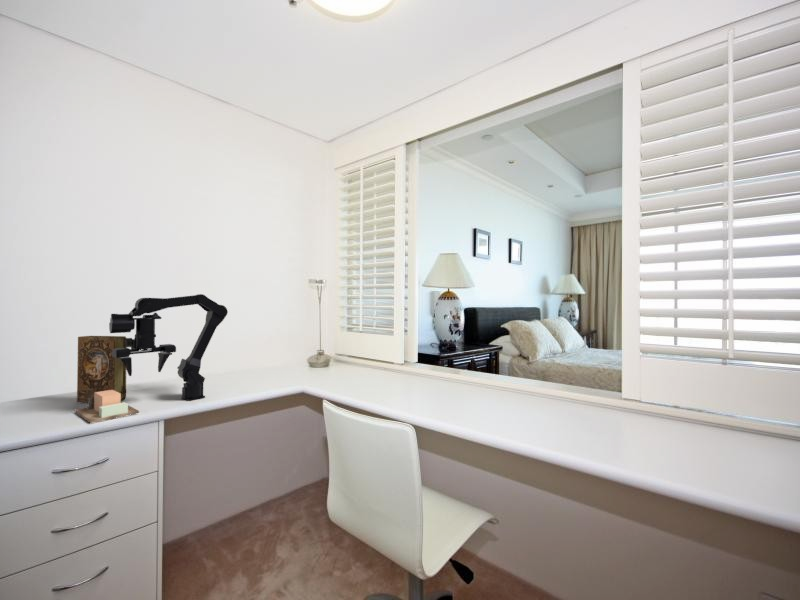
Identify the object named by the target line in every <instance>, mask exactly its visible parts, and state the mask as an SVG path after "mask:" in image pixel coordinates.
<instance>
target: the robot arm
mask: <svg viewBox="0 0 800 600" xmlns="http://www.w3.org/2000/svg"><path fill="white" fill-rule="evenodd" d="M193 305H198V306H199V307H200V308H201V309H203V310H204V311H206V315H205V323H204V325H203V327H202V330H201V332H200V334H199V335H198V338H197V340H196V342H195V344H194V345H193V348H192V350H191V352H190V354H189V356H188V357H187V358H186V359H185V358H181V360H180V364H179V365H178V366H177V368H176V369H177V375H178V377H179V378H180V379H182V380H183V382H184V383H183V387H182V388H181V399H183V400H185V401H193V400H194V401H195V400H198V399H203V398H206V396H205V395H204V383H205V380H206V378H205V377H204V376H203V375H201V374H200V370H201V365H202V363H201V362H202V358H203V357H204V355H205V352H206V349H207V348H208V347H209V344H210V342H211V339H212V338H213V336H214V333H215V332H216V329H217V327H218V326H220V324H221V323H222V322H224V320H225V318H226V317H227V315H228V312H229V311H228V308H227V307H226V306H225V305H222V304H218V302H216V301H214V300H212V299H211V298H209V297H208V296H206V295H205V294H201V293H200V294H194V295H184V296H176V297H167V298H164V297H163V298H162V297H142V298H138V299H137V300H136V301H135V303H134V307H133V308H132V309H131V311H129V313H123V314H121V313H120V314H119V313H111V314H110V318H109V319H110V321H109V324H108V327H109V333H110V334H118V333H119V334H121V333H131V332H132V331H133V330H135V334H134V338H132V337H126V339H125V347H126V348H115V349H113V350H112V357H116V358H117V359H120V360H122V362H123V363H124V365H125V367H126V373H127V374H128V376H129V377H132V373H133V369H132V368H133V364H132V362H133V361H132V357H131V356H130V355H137V354H139V355H140V354H147V353H148V354H150V353H157V354H158V355H157V356H158V365H157V371H158V373H161V372H162V369H163V368H164V366H165V363H166V361H167V360H168V358H169V357H170V356H171V355H173V353H176V352H177V346H176V345H175V344H171V343H168V344H167V343H165V344H159V346H156V344H155V343H156V341H155V340H156V337H157V334H156V320H161V319H162V317H161V316H160V315H159V314H158V313H157V312H158V311H162V310H165V309H169V308H177V307H183V306H184V307H185V306H193ZM152 313H153V314H152ZM141 316H142V317H141Z"/></svg>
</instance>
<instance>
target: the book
mask: <svg viewBox="0 0 800 600" xmlns="http://www.w3.org/2000/svg"><path fill="white" fill-rule="evenodd" d="M126 338H127V337H126V336H123V335H120V336H119V335H83V336H78V337H77V375H76V376H77V377H76V378H77V379H76V380H77V382H76V387H77V388H76V403H77V402H84V403H83V404H89V397H94V392H100V391H107V390H114V391H116V392H118V393H121V401H124V400H126V399H127V370H126V367H125V365H124V363H123V362H122V360H120V359H117V358H116V357H112V350H113V349H115V348H127V347H125V339H126Z"/></svg>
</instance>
